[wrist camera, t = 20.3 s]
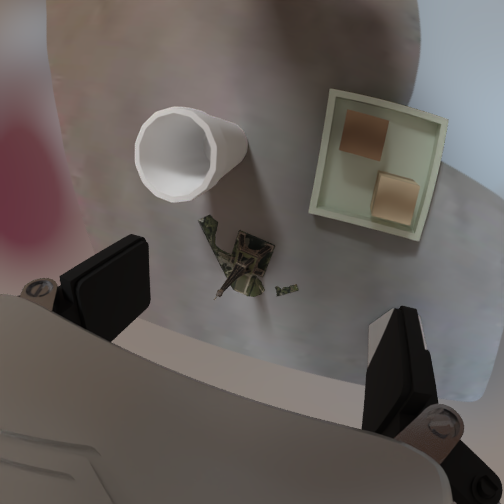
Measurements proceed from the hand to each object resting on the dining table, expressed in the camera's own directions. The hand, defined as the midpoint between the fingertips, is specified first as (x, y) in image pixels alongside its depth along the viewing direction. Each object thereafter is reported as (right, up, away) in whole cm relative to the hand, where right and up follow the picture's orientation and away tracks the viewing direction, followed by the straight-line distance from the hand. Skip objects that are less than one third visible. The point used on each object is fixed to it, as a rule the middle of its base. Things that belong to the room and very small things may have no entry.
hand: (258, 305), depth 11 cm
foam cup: (-4, +16, +29) cm, 33 cm away
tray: (+15, +12, +24) cm, 31 cm away
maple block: (+16, +9, +24) cm, 30 cm away
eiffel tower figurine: (-1, +2, +35) cm, 35 cm away
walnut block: (+13, +15, +22) cm, 30 cm away
